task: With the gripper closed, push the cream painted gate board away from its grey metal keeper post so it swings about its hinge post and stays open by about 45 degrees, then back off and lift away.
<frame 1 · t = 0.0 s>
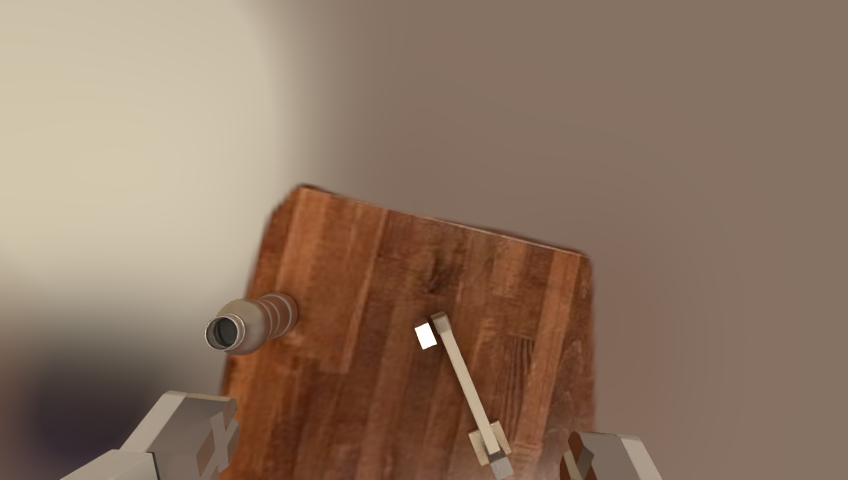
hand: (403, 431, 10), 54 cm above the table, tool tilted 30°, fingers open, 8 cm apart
hinge post: (488, 440, 63), on the table
plastic bottle: (280, 313, 63), on the table
keeper post: (423, 327, 64), on the table
gate: (463, 378, 59), point 5 cm above the table, hinge at 0.0°
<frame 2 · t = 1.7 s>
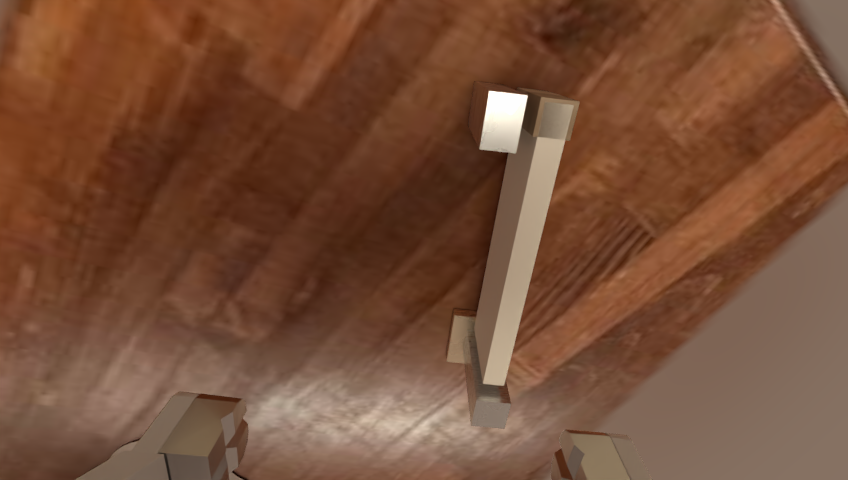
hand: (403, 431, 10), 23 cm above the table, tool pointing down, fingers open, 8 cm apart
hinge post: (477, 334, 37), on the table
keeper post: (485, 105, 29), on the table
gate: (512, 242, 28), point 5 cm above the table, hinge at 0.0°
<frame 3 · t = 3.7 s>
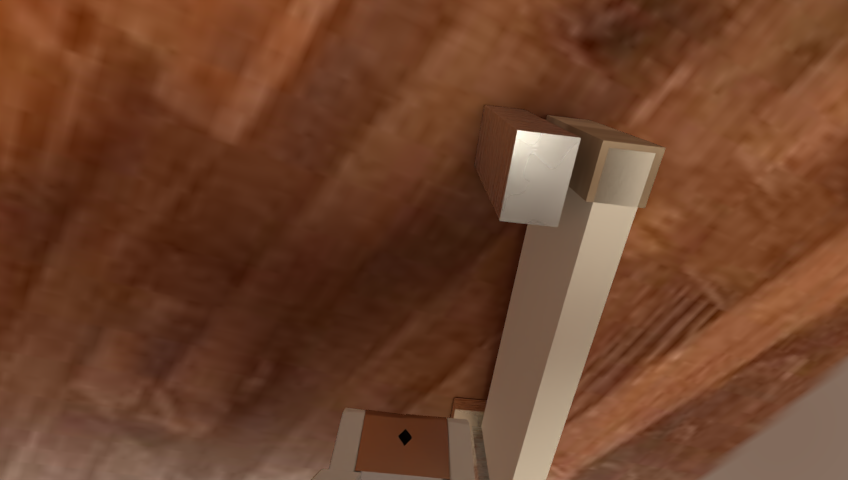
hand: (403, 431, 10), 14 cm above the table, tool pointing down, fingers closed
hinge post: (485, 428, 29), on the table
keeper post: (498, 138, 21), on the table
gate: (539, 334, 20), point 5 cm above the table, hinge at 0.0°
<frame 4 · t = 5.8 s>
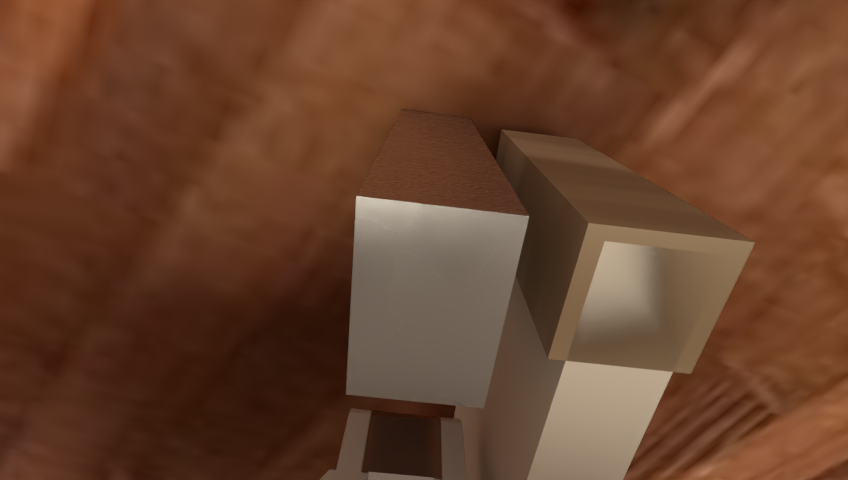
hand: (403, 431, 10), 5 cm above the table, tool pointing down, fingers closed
keeper post: (429, 164, 13), on the table
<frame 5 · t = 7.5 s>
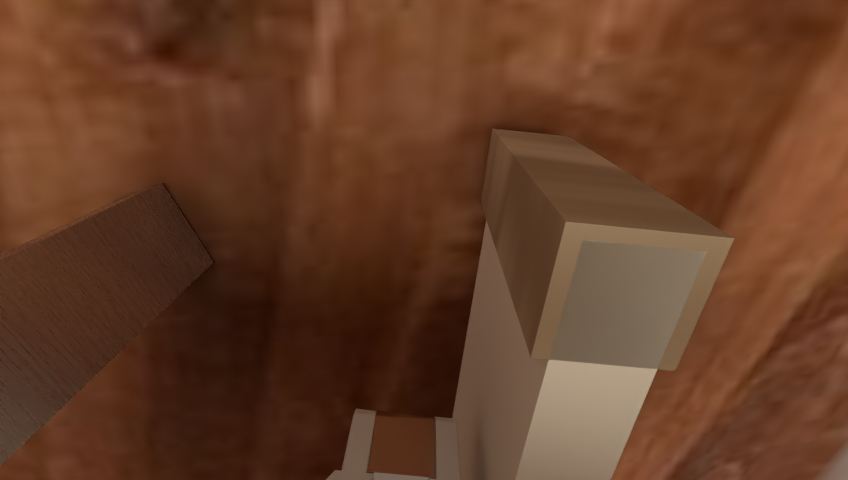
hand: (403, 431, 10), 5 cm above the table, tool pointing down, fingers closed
keeper post: (163, 233, 14), on the table
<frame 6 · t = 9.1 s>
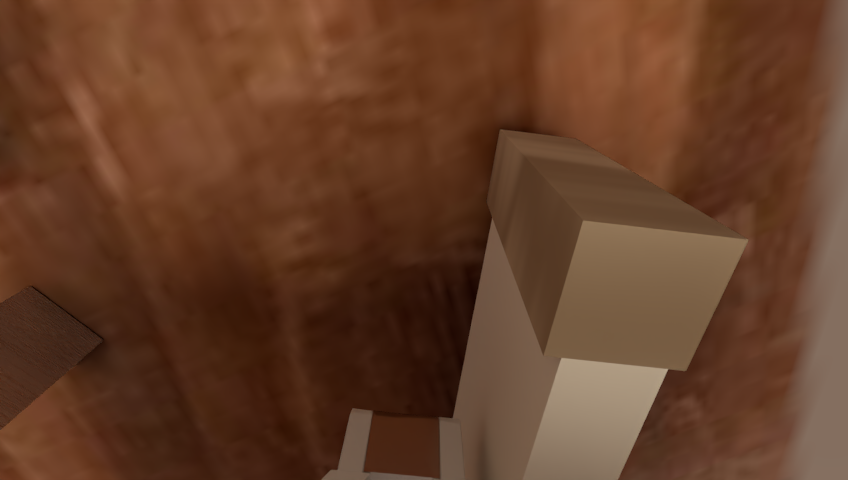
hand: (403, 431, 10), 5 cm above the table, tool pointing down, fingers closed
keeper post: (53, 327, 15), on the table
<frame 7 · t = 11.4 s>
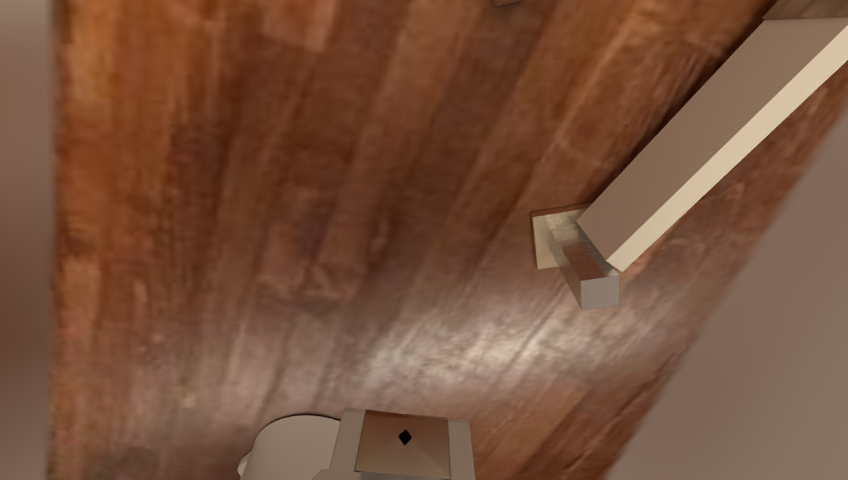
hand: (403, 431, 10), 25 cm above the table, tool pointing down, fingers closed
hinge post: (562, 234, 35), on the table
gate: (704, 136, 27), point 5 cm above the table, hinge at 45.7°
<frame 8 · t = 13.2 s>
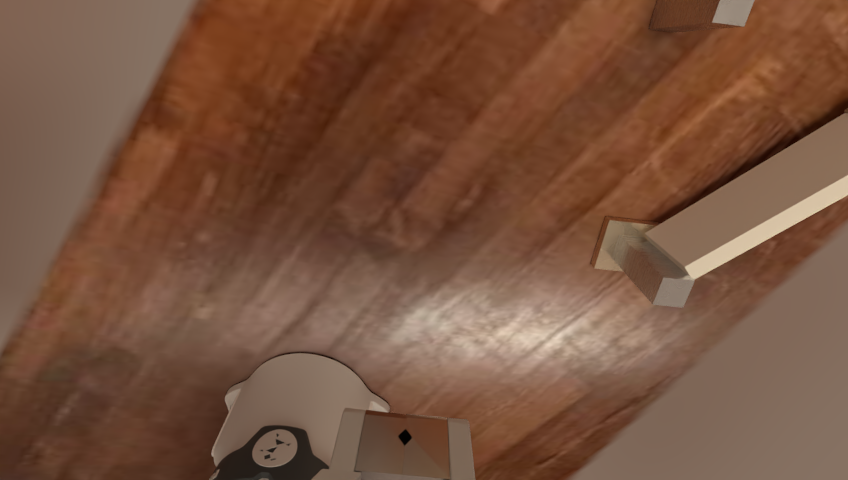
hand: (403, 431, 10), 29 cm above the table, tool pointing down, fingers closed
hinge post: (623, 243, 40), on the table
keeper post: (667, 9, 32), on the table
gate: (782, 188, 32), point 5 cm above the table, hinge at 45.7°
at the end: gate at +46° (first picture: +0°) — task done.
